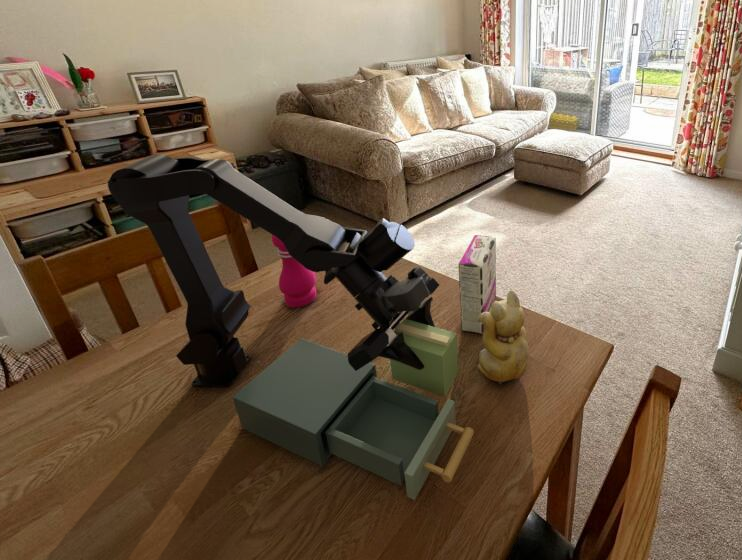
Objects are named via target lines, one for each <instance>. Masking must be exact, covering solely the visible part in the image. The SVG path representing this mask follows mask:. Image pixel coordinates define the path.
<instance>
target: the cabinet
mask: <svg viewBox="0 0 742 560" xmlns="http://www.w3.org/2000/svg"><path fill="white" fill-rule="evenodd" d="M347 354H348V353H344V352H341V351H338V350H335V349H332V348H330V347H327V346H325V345H321V344H319V343H317V342H313V341H310V340H308V339H305V338H299V339H298V340H297V341H296V342H295V343H293V344H292V345H291V346H290V347H289V348H288V349H287V350H285V351H284V352H283V353H282V354H281V355H280V356H279V357H278V358H276V359H275V360H273V362H271V363H270V364H269V365H268V366H267V367H266V368H265V369H264V370H262V371H261V372H260V373H259V374H258V375H257V376H255V377H254V378H252V380H251V381H250V382H248V383H247V384H246V385H244V387H242V388H241V389H240V390H239V391H238V392H237V393H236V394H234V395H233V396H232V401H233V404H234V407H235V410H236V413H237V416H238V420H239V423H240V426H241V428H242V430H245V431H247V432H249V433H251V434H253V435H255V436H258V437H259V438H262V439H264V440H266V441H268V442H270V443H272V444H274V445H276V446H278V447H281V448H283V449H285V450H287V451H289V452H291V453H293V454H295V455H296V456H298V457H301V458H303V459H306V460H308V461H310V462H312V463H314V464H316V465H318V466H320V467H324V465H325V464H327V462H328V461H329V459H330V458H331V457H332V456H333V454H331V453H330V451H329V447H328V442H327V437H326V433H325V432H326V431H327V430H328V429H329V427H330V426H331V425H332V424H333V423H334V421H335V420H336V419H337V418H338V417H339V415H340V414H341V413H342V412H343V411H344V409H345V408H346V407H347V406H348V405H349V404H350V402H351V401H352V400H353V399H354V398H355V396H356V395H357V394H358V393H359V392H360V390H361V389H362V388H363V387H364V386H365V384H366V383H367V382H368V381H369V380H370V378H371V377H372V376H373V377H375V378H378V374H377V368H376V364H374V363H372V362H369V363H368V364H366V365H365V366H363V367H362V368H360V369H358V370H357V371H355V370H354V369H353V367H352V366H351V365H350V364H349V362H348V355H347Z"/></svg>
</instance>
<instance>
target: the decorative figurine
mask: <svg viewBox="0 0 742 560" xmlns="http://www.w3.org/2000/svg"><path fill="white" fill-rule="evenodd" d="M478 321H479V322H482V323H483V324H484V326H485V330H484V333H483V334H482V343H483V346H484V348H482V350H480V352H479V353H478V354H479V355H478V362H479V363H478V364H477V369H478V371H479V372H480V373H481V374H482V375H483V376H485V377H486V378H487V379H489V380H491V381H494V382H497V383H498V384H499V385H502V384H504V382H508V381H513V380H517V379H520V378H521V376H522V375H523V373H524V372H525V370H526V367H527V364H528V363H529V356H530V352H529V351H530V350H529V345H528V342H527V332H526V328H525V327H524V323H525V312H524V309H523V308H522V306H521V301H520V298H519V296H518V294H517V293H516V291H515V290H514V289H510V290H509V291H508V293H507V295H506V299H502V300H496V301H494V302H493V303H492V306H491V308H490V310H489V312H483V313H481V314H480V316H479V318H478Z"/></svg>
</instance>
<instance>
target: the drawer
mask: <svg viewBox="0 0 742 560" xmlns="http://www.w3.org/2000/svg"><path fill="white" fill-rule="evenodd" d="M456 424H457V422H456V401H455V400H452V399H449V398H448V399H447V400H446V402H445V403H444V405H443V407H442V409H441V410H440V411H439V401H438V400H437V399H434V398H432V397H429V396H426V395H423V394H421V393H419V392H416V391H412V390H410V389H407V388H405V387H402V386H399V385H397V384H394V383H391V382H388V381H385V380H383V379H379V378H378V377H377V378H375V377H373V376H372V377H371V378H370V380H369V381H368V382H367V383H366V384H365V386H364V387H363V388H362V389H361V390H360V392H359V393H358V394H357V395H356V396H355V398H354V399H353V400H352V401H351V402H350V404H349V405H348V406H347V407H346V408H345V409H344V411H343V412H342V413H341V414H340V415H339V417H338V418H337V419H336V420H335V421H334V423H333V424H332V425H331V426H330V427H329V429H328V430H327V431H326V432H325V433H326V437H327V442H328V447H329V451H330V453H331V454H332V456H333V455H334V456H335V457H337V458H340V459H342V460H344V461H346V462H348V463H351V464H353V465H356V466H357V467H360V468H362V469H364V470H365V471H368V472H370V473H373V474H374V475H377V476H379V477H381V478H383V479H385V480H388V481H390V482H392V483H395V484H397V485H399V486H403V484H404V482H405V489H406V497H407V498H409V499H411V500H413V501H415V500H416V499H417V497H418V495H419V494H420V491H421V490H422V487H423V486H424V484H425V482H426V481H427V478H428V476H429V474H430V473H433V474H436V475H438V476H440V477H441V479H442V480H443V481H444V482H445V483H448V484H449V483H451V482H452V481H453V478H454V476H455V475H456V472H457V470H458V468H459V466H460V464H461V461H462V460H463V457H464V456H465V453H466V452H467V449H468V447H469V445H470V443H471V442H472V439H473V436H474V435H475V431H474V429H473V428H472V427H470V426H465V428H464V427H462V426H459V425H456ZM452 432H455V433H457V434H460V435H461V436H460V438H459V440H458V442H457V444H456V445H455V448H454V450H453V452H452V453H451V456H450V458H449V460H448V462H447V464H446V466H445V468H442V467H440V466H438V465H435V463H436V462H437V460H438V458H439V456H440V454H441V452H442V450H443V448H444V447H445V445H446V442H447V441H448V439H449V437H450V436H451V433H452Z"/></svg>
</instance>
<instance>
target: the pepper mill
mask: <svg viewBox="0 0 742 560" xmlns="http://www.w3.org/2000/svg"><path fill="white" fill-rule="evenodd" d="M271 242H272V244H273V246H274V247H276V251H277V255H278V256H279V257H280V258H281V262H282V263H281V264H282V265H281V266H282V269H281V272H280V275H279V278H278V288H279V291H280V293H282V294H283V297H284V302H285V305H286V306H287V307H290V308H301V307H304V306H305V307H306V306H307V305H309V304H310V303H312V302H313V301H314V300H316V298H317V296H318V295H317V288H316V286H315V285H316V282H317V276H316V272H313V271H310V270H308V269H306V268H305V267H304V266H303V265H301V264H300V263H299V262H298V261H296V260H295V259H294V258H293V257H292V256H290V254H289V253H288V251H287V249H286V247H285V246H284V244H283V242H282V241H280V240H279V239H278V238H277V237H275V236H274V235H272V234H271Z"/></svg>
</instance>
